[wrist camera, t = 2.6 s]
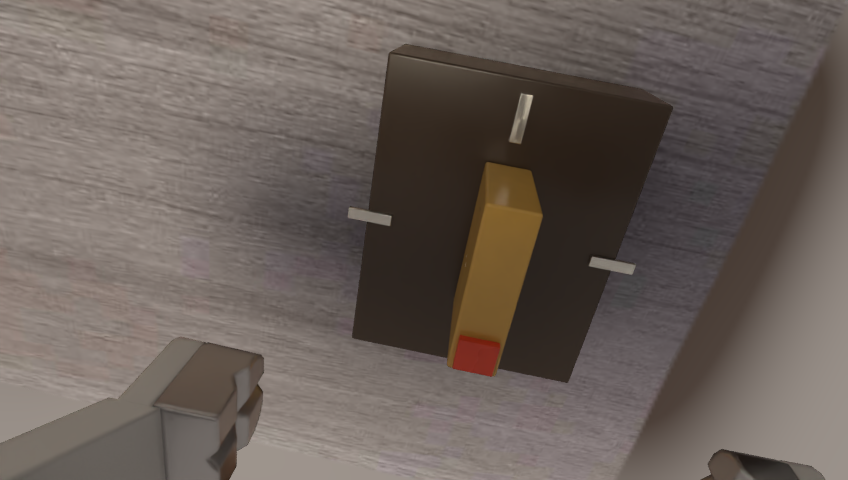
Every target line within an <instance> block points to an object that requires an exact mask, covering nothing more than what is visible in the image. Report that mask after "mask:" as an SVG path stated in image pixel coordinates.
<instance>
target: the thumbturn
mask: <svg viewBox="0 0 848 480" xmlns="http://www.w3.org/2000/svg"><path fill="white" fill-rule="evenodd" d="M542 219H543V214H542V210H541V206H540V202H539V198H538V195H537V191H536V187H535V183H534V179H533V176H532V172H531V171H530V170H526V169H521V168H516V167H511V166H506V165H500V164H495V163H490V162H487V163H486V164H485V167H484V171H483V175H482V180H481V184H480V188H479V193H478V197H477V201H476V206H475V210H474V214H473V219H472V223H471V227H470V232H469V236H468V240H467V245H466V249H465V253H464V258H463V262H462V266H461V271H460V275H459V279H458V284H457V288H456V292H455V297H454V302H453V312H452V321H451V330H450V339H449V348H448V358H447V366H448V367H451V368H453V369H457V370H462V371H467V372H471V373H476V374H481V375H486V376H490V377H492V376H495V375H496V373H497V370H498V366H499V363H500V360H501V356H502V353H503V349H504V346H505V343H506V339H507V336H508V333H509V329H510V326H511V323H512V319H513V316H514V313H515V309H516V306H517V302H518V299H519V296H520V292H521V289H522V286H523V282H524V279H525V276H526V272H527V269H528V266H529V262H530V259H531V255H532V252H533V249H534V245H535V242H536V239H537V235H538V232H539V229H540V225H541V222H542Z"/></svg>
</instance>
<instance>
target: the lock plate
mask: <svg viewBox="0 0 848 480" xmlns="http://www.w3.org/2000/svg"><path fill="white" fill-rule="evenodd" d="M672 110H673V106H671V105H670V104H668V103H666V102H664V101H663V100H661V99H659V98H657V97H656V96H654V95H652V94H650V93H648V92H647V91H645V90H643V89H639V88H634V87H629V86H624V85H618V84H613V83H608V82H603V81H597V80H592V79H587V78H582V77H576V76H571V75H566V74H561V73H556V72H550V71H545V70H540V69H535V68H529V67H524V66H519V65H514V64H508V63H503V62H498V61H493V60H488V59H482V58H477V57H472V56H467V55H461V54H456V53H451V52H446V51H440V50H435V49H430V48H425V47H420V46H414V45H409V44H404V45H402V46H400V47H399V48H397V49H395V50H393V51H391V52H390V53H389V56H388V64H387V71H386V79H385V87H384V94H383V102H382V110H381V118H380V125H379V133H378V141H377V148H376V156H375V164H374V171H373V179H372V187H371V195H370V202H369V210H367V209H362V208H357V207H352V206H350V207H349V210H348V218H352V219H357V220H362V221H367V225H366V233H365V241H364V249H363V256H362V264H361V272H360V279H359V287H358V295H357V303H356V310H355V318H354V326H353V333H352V338H354V339H359V340H364V341H368V342H373V343H378V344H383V345H388V346H392V347H397V348H402V349H407V350H412V351H416V352H421V353H426V354H431V355H436V356H441V357H445V358H448V348H449V339H450V330H451V321H452V312H453V302H454V297H455V292H456V288H457V284H458V279H459V275H460V271H461V266H462V262H463V258H464V253H465V249H466V245H467V240H468V236H469V232H470V227H471V223H472V219H473V214H474V210H475V206H476V201H477V197H478V193H479V188H480V184H481V180H482V175H483V171H484V167H485V164H486V163H487V162H490V163H495V164H500V165H506V166H511V167H516V168H521V169H526V170H530V171H531V172H532V176H533V179H534V183H535V187H536V191H537V195H538V198H539V202H540V206H541V210H542V214H543V219H542V222H541V225H540V229H539V232H538V235H537V239H536V242H535V245H534V249H533V252H532V255H531V259H530V262H529V266H528V269H527V272H526V276H525V279H524V282H523V286H522V289H521V292H520V296H519V299H518V302H517V306H516V309H515V313H514V316H513V319H512V323H511V326H510V329H509V333H508V336H507V339H506V343H505V346H504V349H503V353H502V356H501V360H500V363H499V366H498V369H503V370H508V371H513V372H517V373H522V374H527V375H532V376H537V377H542V378H546V379H551V380H556V381H561V382H566V383H568V381H569V379H570V376H571V374H572V371H573V368H574V366H575V363H576V361H577V358H578V355H579V353H580V350H581V347H582V345H583V342H584V340H585V337H586V334H587V332H588V329H589V327H590V324H591V321H592V319H593V316H594V313H595V311H596V308H597V306H598V303H599V300H600V298H601V295H602V293H603V290H604V287H605V285H606V282H607V280H608V277H609V274H610V272H611V271H615V272H620V273H625V274H630V275H632V274H633V272H634V269H635V267H636V264H635V263H631V262H626V261H621V260H616V256H617V253H618V251H619V248H620V246H621V243H622V240H623V238H624V235H625V232H626V230H627V227H628V225H629V222H630V219H631V217H632V214H633V212H634V209H635V206H636V204H637V201H638V199H639V196H640V193H641V191H642V188H643V185H644V183H645V180H646V178H647V175H648V172H649V170H650V167H651V165H652V162H653V159H654V157H655V154H656V151H657V149H658V146H659V144H660V141H661V138H662V136H663V133H664V131H665V128H666V125H667V123H668V120H669V118H670V115H671V112H672Z"/></svg>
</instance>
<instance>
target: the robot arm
mask: <svg viewBox="0 0 848 480" xmlns="http://www.w3.org/2000/svg"><path fill="white" fill-rule="evenodd" d="M263 373H264V358H263V357H262V355H261V354H256V353H252V352H248V351H243V350H239V349H235V348H230V347H226V346H222V345H217V344H213V343H209V342H208V343H205V342H201V341H197V340H193V339H189V338H184V337H178V338H176V339H174V340H172V341H171V342H170V343H169V344H168V345H167V346H166V347H165V349H164V350H163V351H162V352H161V353H160V354H159V355H158V356H157V357H156V358H155V359H154V360H153V362H152V363H151V364H150V365H149V366H148V367H147V368H146V369H145V370H144V371H143V372H142V373H141V375H140V376H139V377H138V378H137V379H136V380H135V381H134V382H133V383H132V384H131V385H130V386H129V388H128V389H127V390H126V391H125V392H124V393H123V394H122V395H121V396H120V397H119V398H118V399H114V398H107V399H104V400H102V401H100V402H97V403H95V404H92V405H90V406H88V407H86V408H83V409H81V410H78V411H76V412H73V413H71V414H69V415H66V416H64V417H62V418H59V419H57V420H54V421H52V422H50V423H47V424H45V425H43V426H40V427H38V428H35V429H33V430H31V431H29V432H26V433H24V434H21V435H19V436H17V437H15V438H12V439H9V440H7V441H5V442H2V443H0V480H229V479H230V477H231V475H232V473H233V471H234V470H235V468H236V464H237V451H238V450H240V449H242V448H243V447H245V446H247V445H248V443H249V441H250V439H251V437H252V435H253V433H254V431H255V428H256V426H257V423H258V420H259V417H260V413H261V408H262V402H263V391H262V390H261V388H260V387H259V385H258V382H259V380H260V378H261V377H262V375H263ZM708 467H709V470H710V473H711V475H709V476H707V477H705V478H703V479H701V480H825V478H824V477H823V475H822V474H821V473H820V472H819V471H817V470H816V469H814V468H813V467H812V466H808V465H803V464H798V463H792V462H787V461H782V460H781V461H778V460H774V459H769V458H764V457H759V456H754V455H749V454H744V453H738V452H734V451H729V450H724V449H721V450H719V451H718V452H716V453H714V454H713V456H712V458H711V459H710V461H709V463H708Z"/></svg>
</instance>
